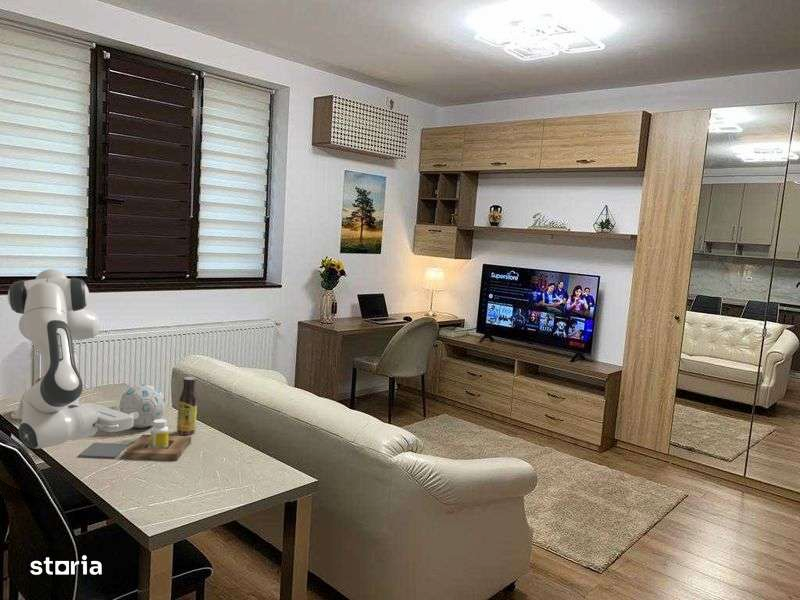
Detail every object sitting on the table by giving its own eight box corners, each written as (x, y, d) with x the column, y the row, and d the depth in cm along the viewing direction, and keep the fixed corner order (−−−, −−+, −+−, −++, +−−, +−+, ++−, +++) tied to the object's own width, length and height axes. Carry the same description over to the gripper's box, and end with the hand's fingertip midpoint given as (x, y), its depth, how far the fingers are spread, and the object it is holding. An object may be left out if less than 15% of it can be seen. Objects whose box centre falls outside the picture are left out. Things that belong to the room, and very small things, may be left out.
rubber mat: (78, 457, 187) (78, 455, 187) (93, 444, 198) (93, 442, 198) (115, 458, 188) (115, 456, 188) (128, 445, 199) (128, 444, 199)
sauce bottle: (172, 433, 213) (174, 377, 211) (186, 428, 218) (188, 374, 216) (186, 437, 210) (188, 381, 208) (200, 432, 215) (202, 377, 213)
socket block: (124, 458, 189) (124, 452, 188) (142, 440, 204) (142, 434, 204) (177, 460, 190) (177, 454, 190) (191, 442, 206) (191, 436, 205)
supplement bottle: (171, 448, 199) (172, 419, 198) (160, 454, 194) (161, 424, 193) (157, 446, 200) (158, 417, 199) (146, 451, 195) (147, 421, 194)
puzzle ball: (160, 417, 228) (161, 378, 227) (168, 430, 216) (169, 389, 214) (116, 422, 220) (116, 381, 219) (121, 435, 208) (122, 392, 206)
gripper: (106, 418, 167) (150, 407, 179) (62, 404, 177) (106, 395, 189) (106, 440, 168) (149, 428, 180) (62, 425, 178) (105, 415, 190)
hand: (126, 411), depth 185 cm, fingers open, 8 cm apart
